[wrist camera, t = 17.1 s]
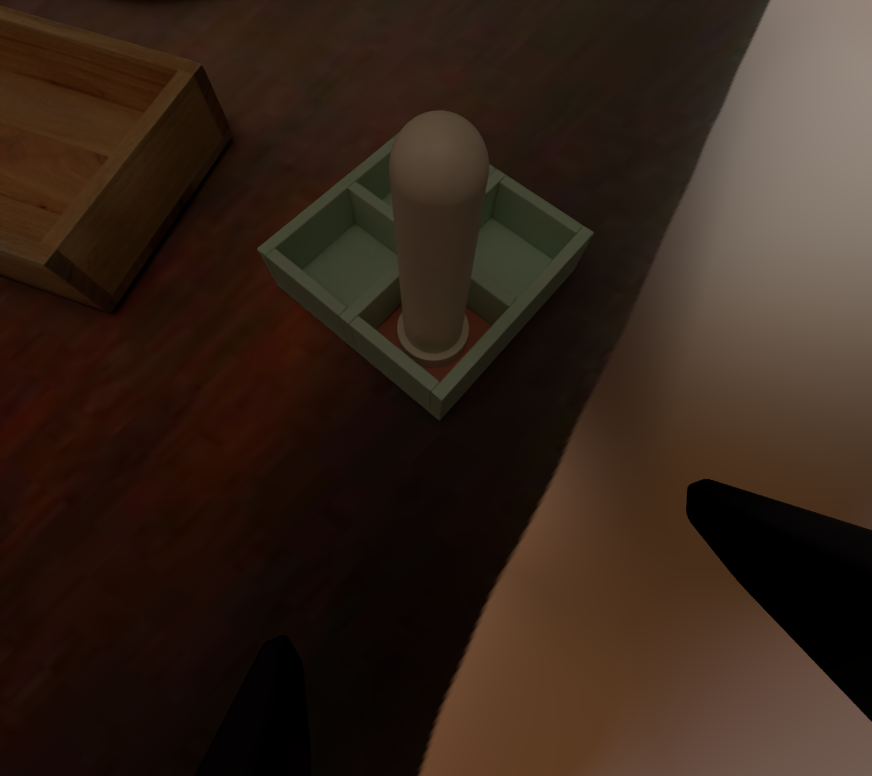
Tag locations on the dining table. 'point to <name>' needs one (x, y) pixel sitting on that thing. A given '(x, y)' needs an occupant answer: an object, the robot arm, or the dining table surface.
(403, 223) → the beige rounded cylinder
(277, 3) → the dining table surface
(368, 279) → the grid
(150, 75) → the tray
